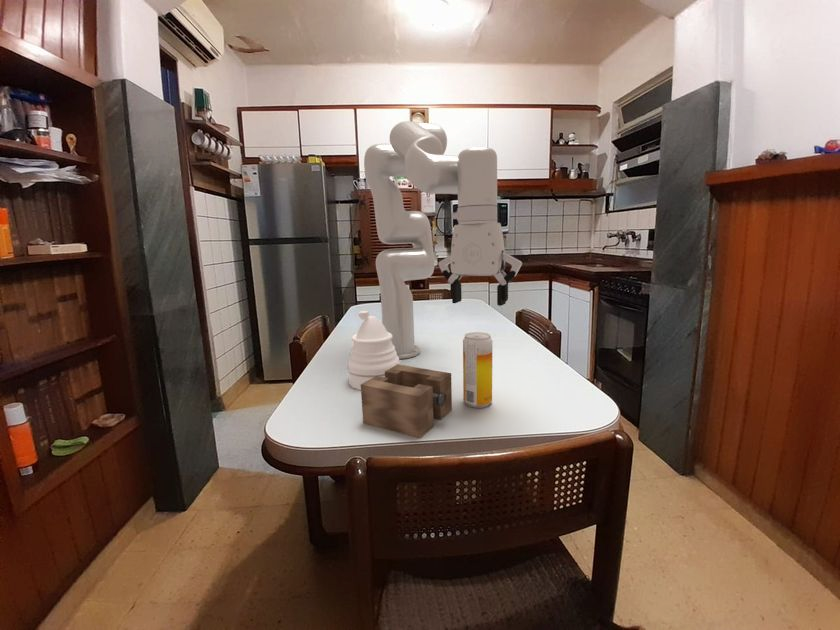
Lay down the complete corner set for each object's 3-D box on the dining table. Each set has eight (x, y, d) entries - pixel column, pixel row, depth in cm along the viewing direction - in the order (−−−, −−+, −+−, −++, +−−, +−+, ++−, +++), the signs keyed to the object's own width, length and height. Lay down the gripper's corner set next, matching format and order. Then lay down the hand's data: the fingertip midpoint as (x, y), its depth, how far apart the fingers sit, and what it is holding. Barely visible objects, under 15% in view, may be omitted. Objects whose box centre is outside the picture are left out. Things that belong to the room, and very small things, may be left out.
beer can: (496, 400, 87) (496, 333, 84) (485, 411, 82) (485, 340, 79) (470, 395, 90) (470, 330, 87) (458, 405, 85) (457, 337, 82)
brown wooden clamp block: (363, 422, 79) (360, 384, 77) (399, 398, 90) (397, 364, 88) (420, 438, 72) (419, 396, 71) (451, 409, 83) (451, 373, 81)
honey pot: (361, 395, 92) (357, 318, 88) (341, 379, 103) (336, 310, 99) (410, 382, 99) (407, 311, 95) (386, 368, 109) (382, 304, 106)
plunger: (415, 403, 78) (415, 391, 77) (422, 398, 80) (422, 386, 79) (440, 409, 75) (439, 396, 75) (446, 403, 77) (446, 391, 77)
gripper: (429, 218, 79) (432, 304, 82) (515, 213, 70) (515, 309, 74) (446, 219, 85) (448, 298, 89) (527, 214, 77) (526, 302, 80)
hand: (478, 303), depth 81 cm, fingers open, 9 cm apart
